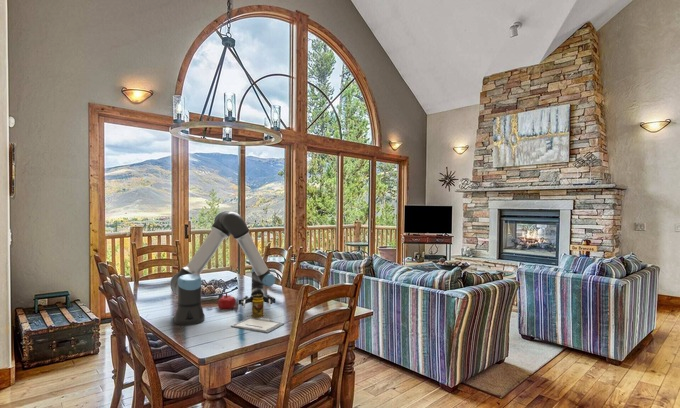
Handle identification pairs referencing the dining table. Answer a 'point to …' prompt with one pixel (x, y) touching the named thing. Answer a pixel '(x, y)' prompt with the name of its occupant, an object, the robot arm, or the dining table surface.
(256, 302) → the condiment
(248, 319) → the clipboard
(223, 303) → the pomegranate
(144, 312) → the dining table surface
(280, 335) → the dining table surface
